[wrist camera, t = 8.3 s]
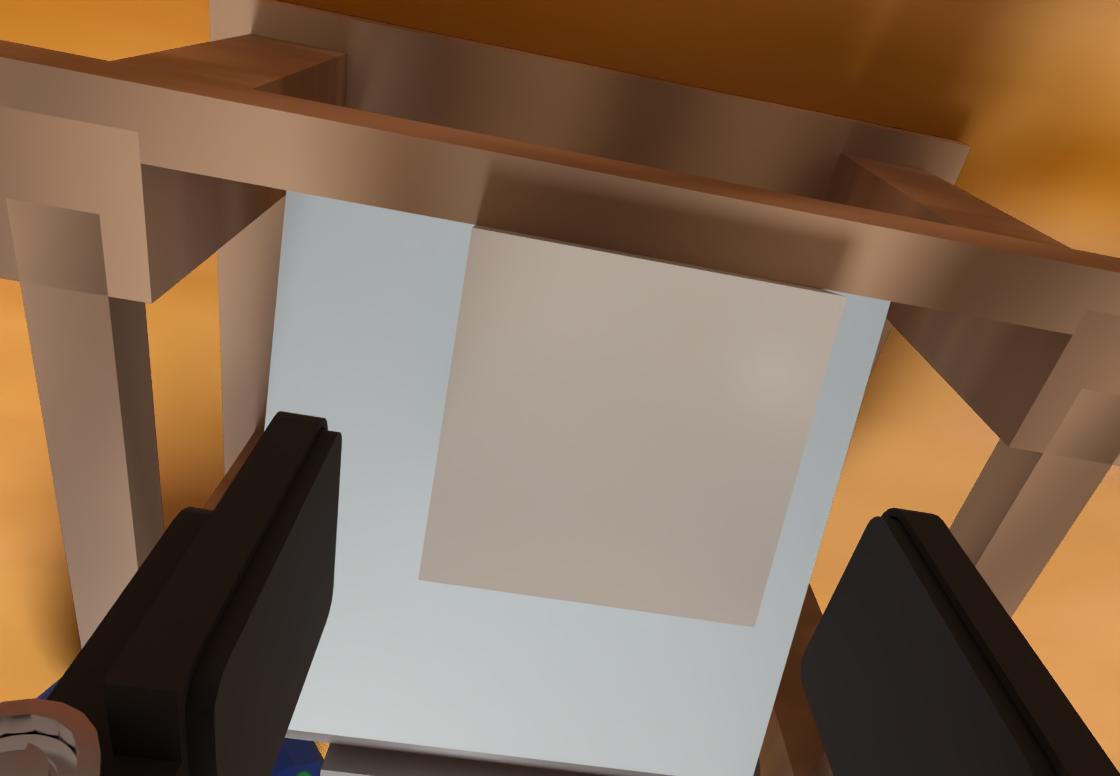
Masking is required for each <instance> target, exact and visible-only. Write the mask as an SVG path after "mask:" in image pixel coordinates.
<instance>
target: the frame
mask: <svg viewBox="0 0 1120 776" xmlns="http://www.w3.org/2000/svg"><path fill="white" fill-rule="evenodd" d="M209 12H210V42H206V43H201V44H196V45H191V46H186V47H181V48H175V49H170V50H165V51H160V52H155V53H150V54H145V55H140V56H135V57H130V58H125V59H119V60H114V61H106V60H100V59H95V58H90V57H85V56H80V55H75V54H70V53H65V52H59V51H54V50H49V49H44V48H39V47H34V46H29V45H24V44H18V43H13V42H8V41H3V40H0V278H2V279H8V280H14V281H20V286H21V292H22V298H23V304H24V310H25V315H26V321H27V327H28V333H29V339H30V345H31V351H32V357H33V363H34V369H35V375H36V381H37V387H38V393H39V399H40V405H41V410H42V416H43V422H44V428H45V434H46V440H47V446H48V452H49V458H50V464H51V470H52V476H53V482H54V488H55V494H56V500H57V505H58V511H59V517H60V523H61V529H62V535H63V541H64V547H65V553H66V559H67V565H68V571H69V577H70V583H71V589H72V595H73V600H74V606H75V612H76V618H77V624H78V630H79V636H80V642H81V648H83V647H84V645H85V644H86V643H87V641H88V640H89V638H90V637H91V636H92V634H93V633H94V631H95V630H96V628H97V627H98V626H99V624H100V623H101V621H102V620H103V619H104V617H105V616H106V614H107V613H108V612H109V610H110V609H111V607H112V606H113V604H114V603H115V602H116V600H117V599H118V597H119V596H120V595H121V593H122V592H123V590H124V589H125V588H126V586H127V585H128V583H129V582H130V580H131V579H132V578H133V576H134V575H135V573H136V572H137V571H138V569H139V568H140V566H141V565H142V563H143V562H144V561H145V559H146V558H147V556H148V555H149V554H150V552H151V551H152V549H153V548H154V547H155V545H156V544H157V542H158V541H159V539H160V538H161V537H162V535H163V534H164V523H163V511H162V499H161V487H160V475H159V464H158V452H157V440H156V428H155V416H154V404H153V392H152V380H151V368H150V357H149V345H148V333H147V321H146V309H145V303H151V304H152V303H153V302H154V301H156V300H157V299H158V298H159V297H161V296H162V295H163V294H164V293H165V292H167V291H168V290H169V289H170V288H172V287H173V286H174V285H175V284H177V283H178V282H179V281H180V280H181V279H183V278H184V277H185V276H186V275H188V274H189V273H190V272H191V271H193V270H194V269H195V268H196V267H198V266H199V265H200V264H201V263H202V262H204V261H205V260H206V259H207V258H209V257H210V256H211V255H212V254H214V253H215V252H216V251H217V256H218V287H219V318H220V348H221V379H222V409H223V440H224V471H225V477H224V478H223V480H222V481H221V483H220V484H219V486H218V487H217V489H216V490H215V492H214V493H213V495H212V496H211V498H210V499H209V501H208V502H207V504H206V505H205V507H204V508H203V509H207V510H214V509H215V507H216V506H217V504H218V502H219V501H220V499H221V498H222V496H223V495H224V493H225V492H226V490H227V489H228V487H229V485H230V484H231V482H232V481H233V479H234V478H235V476H236V475H237V473H238V471H239V470H240V468H241V467H242V465H243V464H244V462H245V461H246V459H247V458H248V456H249V454H250V453H251V451H252V450H253V448H254V447H255V445H256V444H257V442H258V441H259V439H260V437H261V436H262V434H263V433H264V429H265V418H266V407H267V396H268V385H269V374H270V363H271V353H272V342H273V331H274V320H275V309H276V298H277V287H278V276H279V265H280V254H281V244H282V233H283V222H284V211H285V200H286V190H288V191H293V192H298V193H304V194H309V195H315V196H320V197H326V198H331V199H337V200H342V201H347V202H353V203H358V204H364V205H369V206H375V207H380V208H386V209H391V210H396V211H402V212H407V213H413V214H418V215H424V216H429V217H435V218H440V219H445V220H451V221H456V222H462V223H467V224H473V225H479V226H484V227H489V228H495V229H500V230H506V231H511V232H516V233H522V234H527V235H532V236H538V237H543V238H549V239H554V240H560V241H565V242H571V243H576V244H581V245H587V246H592V247H598V248H603V249H609V250H614V251H620V252H625V253H630V254H636V255H641V256H647V257H652V258H658V259H663V260H668V261H674V262H679V263H685V264H690V265H696V266H701V267H707V268H712V269H717V270H723V271H728V272H734V273H739V274H745V275H750V276H756V277H761V278H766V279H772V280H777V281H783V282H788V283H794V284H799V285H805V286H810V287H815V288H821V289H826V290H832V291H837V292H843V293H848V294H853V295H859V296H864V297H870V298H875V299H881V300H886V301H891V302H890V306H889V309H888V312H887V316H886V319H885V323H884V326H883V330H882V333H881V337H880V340H879V343H878V347H877V350H876V354H875V357H874V361H873V364H872V368H871V371H870V375H871V373H872V371H873V369H874V366H875V364H876V362H877V359H878V357H879V355H880V353H881V350H882V348H883V346H884V344H885V341H886V339H887V337H888V335H889V332H890V330H891V328H892V325H893V326H894V327H895V328H896V329H897V330H898V331H899V332H900V333H901V334H902V335H903V336H904V337H905V338H906V339H907V341H908V342H909V343H910V344H911V345H912V346H913V347H914V348H915V349H916V350H917V351H918V352H919V353H920V354H921V355H922V356H923V357H924V358H925V360H926V361H927V362H928V363H929V364H930V365H931V366H932V367H933V368H934V369H935V370H936V371H937V372H938V373H939V374H940V375H941V376H942V377H943V379H944V380H945V381H946V382H947V383H948V384H949V385H950V386H951V387H952V388H953V389H954V390H955V391H956V392H957V393H958V394H959V395H960V396H961V398H962V399H963V400H964V401H965V402H966V403H967V404H968V405H969V406H970V407H971V408H972V409H973V410H974V411H975V412H976V413H977V414H978V415H979V417H980V418H981V419H982V420H983V421H984V422H985V423H986V424H987V425H988V426H989V427H990V428H991V429H992V430H993V431H994V432H995V433H996V434H997V436H998V437H999V438H1000V440H999V442H998V443H997V445H996V447H995V449H994V451H993V452H992V454H991V456H990V458H989V459H988V461H987V463H986V465H985V467H984V468H983V470H982V472H981V474H980V476H979V477H978V479H977V481H976V483H975V484H974V486H973V488H972V490H971V492H970V493H969V495H968V497H967V499H966V500H965V502H964V504H963V506H962V508H961V509H960V511H959V513H958V515H957V516H956V518H955V520H954V522H953V524H952V525H951V527H950V529H949V530H950V532H951V533H952V534H953V536H954V537H955V539H956V540H957V542H958V543H959V544H960V546H961V547H962V549H963V550H964V552H965V553H966V554H967V556H968V557H969V559H970V560H971V562H972V563H973V564H974V566H975V567H976V569H977V570H978V572H979V573H980V574H981V576H982V577H983V579H984V580H985V582H986V583H987V584H988V586H989V587H990V589H991V590H992V592H993V593H994V594H995V596H996V597H997V599H998V600H999V602H1000V603H1001V604H1002V606H1003V607H1004V609H1005V610H1006V612H1007V613H1008V614H1009V616H1010V617H1012V615H1013V614H1014V612H1015V611H1016V609H1017V608H1018V606H1019V605H1020V603H1021V602H1022V600H1023V599H1024V597H1025V596H1026V594H1027V593H1028V591H1029V590H1030V588H1031V587H1032V585H1033V584H1034V582H1035V581H1036V579H1037V578H1038V576H1039V575H1040V573H1041V572H1042V570H1043V569H1044V567H1045V566H1046V564H1047V563H1048V561H1049V559H1050V558H1051V556H1052V555H1053V553H1054V552H1055V550H1056V549H1057V547H1058V546H1059V544H1060V543H1061V541H1062V540H1063V538H1064V537H1065V535H1066V534H1067V532H1068V531H1069V529H1070V528H1071V526H1072V525H1073V523H1074V522H1075V520H1076V519H1077V517H1078V516H1079V514H1080V513H1081V511H1082V510H1083V508H1084V507H1085V505H1086V504H1087V502H1088V501H1089V499H1090V497H1091V496H1092V494H1093V493H1094V491H1095V490H1096V488H1097V487H1098V485H1099V484H1100V482H1101V481H1102V479H1103V478H1104V476H1105V475H1106V473H1107V472H1108V470H1109V469H1110V467H1111V466H1112V465H1118V466H1120V258H1116V257H1110V256H1105V255H1100V254H1095V253H1090V252H1085V251H1080V250H1075V249H1071V248H1069V247H1067V246H1065V245H1064V244H1062V243H1060V242H1058V241H1056V240H1054V239H1052V238H1051V237H1049V236H1047V235H1045V234H1043V233H1041V232H1039V231H1038V230H1036V229H1034V228H1032V227H1030V226H1028V225H1026V224H1025V223H1023V222H1021V221H1019V220H1017V219H1015V218H1013V217H1012V216H1010V215H1008V214H1006V213H1004V212H1002V211H1000V210H999V209H997V208H995V207H993V206H991V205H989V204H987V203H986V202H984V201H982V200H980V199H978V198H976V197H974V196H973V195H971V194H969V193H967V192H965V191H963V190H961V189H960V188H958V187H956V186H954V185H955V183H956V181H957V178H958V176H959V174H960V172H961V169H962V167H963V165H964V162H965V160H966V158H967V156H968V153H969V151H970V149H971V146H968V145H966V144H964V143H961V142H959V141H956V140H951V139H946V138H941V137H936V136H931V135H926V134H922V133H917V132H912V131H907V130H902V129H897V128H892V127H888V126H883V125H878V124H873V123H868V122H863V121H859V120H854V119H849V118H844V117H839V116H834V115H829V114H825V113H820V112H815V111H810V110H805V109H800V108H795V107H791V106H786V105H781V104H776V103H771V102H766V101H762V100H757V99H752V98H747V97H742V96H737V95H732V94H728V93H723V92H718V91H713V90H708V89H703V88H698V87H694V86H689V85H684V84H679V83H674V82H669V81H665V80H660V79H655V78H650V77H645V76H640V75H635V74H631V73H626V72H621V71H616V70H611V69H606V68H601V67H597V66H592V65H587V64H582V63H577V62H572V61H568V60H563V59H558V58H553V57H548V56H543V55H538V54H534V53H529V52H524V51H519V50H514V49H509V48H504V47H500V46H495V45H490V44H485V43H480V42H475V41H471V40H466V39H461V38H456V37H451V36H446V35H441V34H437V33H432V32H427V31H422V30H417V29H412V28H407V27H403V26H398V25H393V24H388V23H383V22H378V21H374V20H369V19H364V18H359V17H354V16H349V15H344V14H340V13H335V12H330V11H325V10H320V9H315V8H310V7H306V6H301V5H296V4H291V3H286V2H281V1H277V0H209ZM870 375H869V378H870ZM869 378H868V380H869ZM867 382H868V381H867ZM822 616H823V615H822V613H821V610H820V608H819V606H818V603H817V601H816V598H815V596H814V593H813V591H812V588H811V586H810V584H809V585H808V588H807V592H806V595H805V599H804V602H803V605H802V609H801V612H800V616H799V619H798V623H797V626H796V630H795V633H794V636H793V640H792V643H791V647H790V650H789V654H788V657H787V661H786V664H785V668H784V671H783V674H782V678H781V681H780V685H779V688H778V692H777V695H776V699H775V702H774V705H773V709H772V712H771V716H770V719H769V723H768V726H767V730H766V733H765V736H764V740H763V743H762V747H761V750H760V754H759V761H760V776H833V773H832V770H831V767H830V764H829V762H828V759H827V756H826V753H825V750H824V747H823V744H822V741H821V738H820V735H819V732H818V729H817V726H816V723H815V720H814V717H813V715H812V712H811V709H810V706H809V703H808V700H807V697H806V694H805V691H804V688H803V685H802V681H801V661H802V657H803V655H804V652H805V650H806V648H807V646H808V644H809V642H810V640H811V638H812V636H813V634H814V632H815V630H816V628H817V626H818V624H819V622H820V620H821V618H822Z"/></svg>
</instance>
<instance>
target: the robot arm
mask: <svg viewBox="0 0 1120 776" xmlns="http://www.w3.org/2000/svg"><path fill="white" fill-rule="evenodd" d="M341 451H342V435H341V433H340V432H336V431H329V430H328V424H327V420H326V419H325V418H322V417H316V416H309V415H303V414H297V413H290V412H284V411H279V412H277V414H276V415H275V416H274V417H273V419H272V420H271V422H270V423H269V425H268V427H267V428H266V430H265V431H264V433H263V434H262V436H261V437H260V439H259V441H258V442H257V444H256V445H255V447H254V448H253V450H252V451H251V453H250V454H249V456H248V458H247V459H246V461H245V462H244V464H243V465H242V467H241V468H240V470H239V471H238V473H237V475H236V476H235V478H234V479H233V481H232V482H231V484H230V485H229V487H228V489H227V490H226V492H225V493H224V495H223V496H222V498H221V499H220V501H219V502H218V504H217V506H216V507H215V509H214V510H207V509H200V508H193V507H188V508H186V509H184V510H182V511H181V512H180V513H179V514H178V515H177V516H176V517H175V519H174V520H173V521H172V523H171V524H170V525H169V527H168V528H167V530H166V531H165V532H164V534H163V535H162V537H161V538H160V539H159V541H158V542H157V544H156V545H155V547H154V548H153V549H152V551H151V552H150V554H149V555H148V556H147V558H146V559H145V561H144V562H143V563H142V565H141V566H140V568H139V569H138V571H137V572H136V573H135V575H134V576H133V578H132V579H131V580H130V582H129V583H128V585H127V586H126V588H125V589H124V590H123V592H122V593H121V595H120V596H119V597H118V599H117V600H116V602H115V603H114V604H113V606H112V607H111V609H110V610H109V612H108V613H107V614H106V616H105V617H104V619H103V620H102V621H101V623H100V624H99V626H98V627H97V628H96V630H95V631H94V633H93V634H92V636H91V637H90V638H89V640H88V641H87V643H86V644H85V645H84V647H83V648H82V650H81V651H80V653H79V654H78V655H77V657H76V658H75V660H74V661H73V662H72V664H71V665H70V667H69V668H68V669H67V671H66V672H65V674H64V675H63V677H62V678H61V679H60V681H59V682H58V684H57V685H56V686H55V688H54V689H53V691H52V692H51V693H50V695H49V696H48V698H47V699H46V700H43V699H36V698H34V699H24V700H15V701H5V702H1V703H0V776H271V774H272V772H273V769H274V766H275V763H276V761H277V758H278V755H279V752H280V749H281V747H282V744H283V741H284V738H285V736H286V733H287V730H288V727H289V724H290V722H291V719H292V716H293V713H294V711H295V708H296V705H297V702H298V700H299V697H300V694H301V691H302V688H303V686H304V683H305V680H306V677H307V675H308V672H309V669H310V666H311V663H312V661H313V658H314V655H315V652H316V650H317V647H318V644H319V641H320V638H321V636H322V633H323V630H324V627H325V625H326V622H327V619H328V616H329V612H330V608H331V603H332V597H333V588H334V571H335V554H336V537H337V520H338V503H339V485H340V468H341ZM801 681H802V685H803V688H804V691H805V694H806V697H807V700H808V703H809V706H810V709H811V712H812V715H813V717H814V720H815V723H816V726H817V729H818V732H819V735H820V738H821V741H822V744H823V747H824V750H825V753H826V756H827V759H828V762H829V764H830V767H831V770H832V773H833V776H1120V773H1119V772H1118V770H1117V769H1116V768H1115V766H1114V765H1113V763H1112V762H1111V760H1110V759H1109V758H1108V756H1107V755H1106V753H1105V752H1104V750H1103V749H1102V748H1101V746H1100V745H1099V743H1098V742H1097V740H1096V739H1095V737H1094V736H1093V735H1092V733H1091V732H1090V730H1089V729H1088V727H1087V726H1086V725H1085V723H1084V722H1083V720H1082V719H1081V717H1080V716H1079V715H1078V713H1077V712H1076V710H1075V709H1074V707H1073V706H1072V705H1071V703H1070V702H1069V700H1068V699H1067V697H1066V696H1065V695H1064V693H1063V692H1062V690H1061V689H1060V687H1059V686H1058V685H1057V683H1056V682H1055V680H1054V679H1053V677H1052V676H1051V675H1050V673H1049V672H1048V670H1047V669H1046V667H1045V666H1044V665H1043V663H1042V662H1041V660H1040V659H1039V657H1038V656H1037V655H1036V653H1035V652H1034V650H1033V649H1032V647H1031V646H1030V645H1029V643H1028V642H1027V640H1026V639H1025V637H1024V636H1023V634H1022V633H1021V632H1020V630H1019V629H1018V627H1017V626H1016V624H1015V623H1014V622H1013V620H1012V619H1011V617H1010V616H1009V614H1008V613H1007V612H1006V610H1005V609H1004V607H1003V606H1002V604H1001V603H1000V602H999V600H998V599H997V597H996V596H995V594H994V593H993V592H992V590H991V589H990V587H989V586H988V584H987V583H986V582H985V580H984V579H983V577H982V576H981V574H980V573H979V572H978V570H977V569H976V567H975V566H974V564H973V563H972V562H971V560H970V559H969V557H968V556H967V554H966V553H965V552H964V550H963V549H962V547H961V546H960V544H959V543H958V542H957V540H956V539H955V537H954V536H953V534H952V533H951V532H950V530H949V529H948V527H947V526H946V524H945V523H944V521H943V520H942V519H941V518H940V517H939V516H937V515H934V514H930V513H924V512H917V511H911V510H905V509H898V508H891V509H888V510H887V511H886V512H884V513H883V515H882V516H881V517H879V516H878V517H874V518H873V519H871V520H870V522H869V523H868V525H867V527H866V529H865V531H864V533H863V535H862V537H861V539H860V541H859V543H858V545H857V547H856V549H855V551H854V553H853V555H852V557H851V559H850V561H849V563H848V565H847V567H846V569H845V571H844V573H843V575H842V577H841V579H840V581H839V584H838V586H837V588H836V590H835V592H834V594H833V596H832V598H831V600H830V602H829V604H828V606H827V608H826V610H825V612H824V614H823V616H822V618H821V620H820V622H819V624H818V626H817V628H816V630H815V632H814V634H813V636H812V638H811V640H810V642H809V644H808V646H807V648H806V650H805V652H804V655H803V657H802V661H801Z"/></svg>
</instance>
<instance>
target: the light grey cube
mask: <svg viewBox="0 0 1120 776" xmlns="http://www.w3.org/2000/svg"><path fill="white" fill-rule="evenodd" d="M846 298H847V297H845V296H842V295H839V294H836V293H833V292H830V291H827V290H824V289H821V288H815V287H810V286H805V285H799V284H794V283H788V282H783V281H777V280H772V279H766V278H761V277H756V276H750V275H745V274H739V273H734V272H728V271H723V270H717V269H712V268H707V267H701V266H696V265H690V264H685V263H679V262H674V261H668V260H663V259H658V258H652V257H647V256H641V255H636V254H630V253H625V252H620V251H614V250H609V249H603V248H598V247H592V246H587V245H581V244H576V243H571V242H565V241H560V240H554V239H549V238H543V237H538V236H532V235H527V234H522V233H516V232H511V231H506V230H500V229H495V228H489V227H484V226H479V225H475V226H473V227H472V231H471V238H470V244H469V251H468V257H467V264H466V270H465V277H464V283H463V290H462V296H461V303H460V310H459V316H458V323H457V329H456V336H455V342H454V349H453V355H452V362H451V368H450V375H449V381H448V388H447V394H446V401H445V408H444V414H443V421H442V427H441V434H440V440H439V447H438V453H437V460H436V466H435V473H434V479H433V486H432V493H431V499H430V506H429V512H428V519H427V525H426V532H425V538H424V545H423V551H422V558H421V564H420V571H419V578H418V580H422V581H429V582H436V583H443V584H450V585H457V586H465V587H472V588H479V589H486V590H493V591H500V592H507V593H514V594H521V595H528V596H535V597H542V598H550V599H557V600H564V601H571V602H578V603H585V604H592V605H599V606H606V607H613V608H620V609H627V610H635V611H642V612H649V613H656V614H663V615H670V616H677V617H684V618H691V619H698V620H705V621H712V622H720V623H727V624H734V625H741V626H748V627H755V623H756V620H757V616H758V612H759V609H760V605H761V602H762V598H763V595H764V591H765V587H766V584H767V580H768V577H769V573H770V570H771V566H772V563H773V559H774V555H775V552H776V548H777V545H778V541H779V538H780V534H781V530H782V527H783V523H784V520H785V516H786V513H787V509H788V505H789V502H790V498H791V495H792V491H793V488H794V484H795V480H796V477H797V473H798V470H799V466H800V463H801V459H802V455H803V452H804V448H805V445H806V441H807V438H808V434H809V430H810V427H811V423H812V420H813V416H814V413H815V409H816V405H817V402H818V398H819V395H820V391H821V388H822V384H823V380H824V377H825V373H826V370H827V366H828V363H829V359H830V356H831V352H832V348H833V345H834V341H835V338H836V334H837V331H838V327H839V323H840V320H841V316H842V313H843V309H844V306H845V302H846Z"/></svg>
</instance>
